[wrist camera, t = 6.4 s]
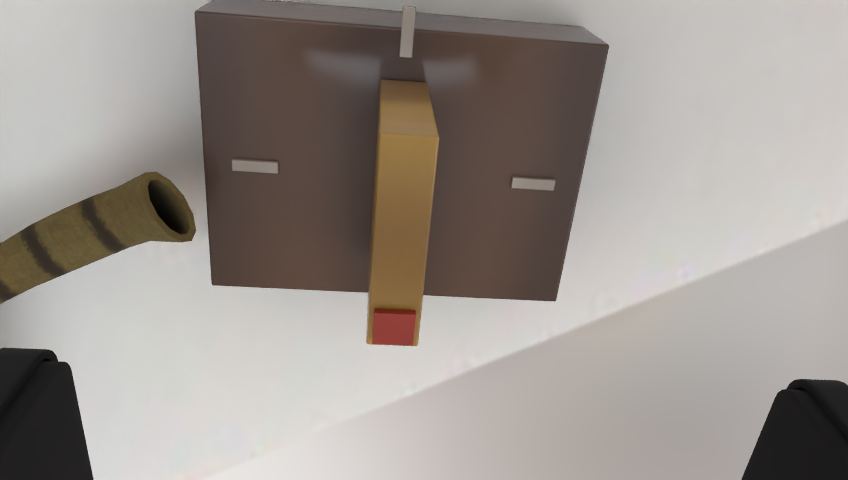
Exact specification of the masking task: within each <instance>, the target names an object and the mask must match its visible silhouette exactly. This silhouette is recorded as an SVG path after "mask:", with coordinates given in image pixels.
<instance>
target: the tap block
mask: <svg viewBox="0 0 848 480" xmlns="http://www.w3.org/2000/svg"><path fill="white" fill-rule="evenodd" d="M415 12H416V8H415V7H409V6H403V12H401V11H389V10H377V9H365V8H354V7H342V6H330V5H318V4H306V3H294V2H282V1H270V0H212V1H210V2H209V3H207V4H205V5H204V6H202V7H201V8H199V9H198V10H196V11H195V27H196V43H197V59H198V75H199V90H200V106H201V122H202V138H203V154H204V170H205V185H206V201H207V217H208V233H209V249H210V264H211V280H212V285H219V286H240V287H261V288H282V289H304V290H325V291H346V292H367V293H368V286H369V260H370V242H371V225H372V208H373V192H374V175H375V159H376V142H377V125H378V109H379V92H380V81H381V80H382V79H384V80H397V81H411V82H424V83H427V86H428V90H429V95H430V99H431V104H432V108H433V113H434V117H435V122H436V126H437V131H438V135H439V146H438V155H437V165H436V175H435V184H434V194H433V203H432V213H431V222H430V232H429V242H428V251H427V261H426V270H425V280H424V290H423V295H431V296H452V297H473V298H494V299H516V300H537V301H556V298H557V293H558V288H559V283H560V279H561V274H562V269H563V264H564V259H565V255H566V250H567V245H568V240H569V236H570V231H571V226H572V221H573V216H574V212H575V207H576V202H577V197H578V192H579V188H580V183H581V178H582V173H583V169H584V164H585V159H586V154H587V149H588V145H589V140H590V135H591V130H592V126H593V121H594V116H595V111H596V106H597V102H598V97H599V92H600V87H601V82H602V78H603V73H604V68H605V63H606V59H607V54H608V49H609V45H608V44H607V43H605V42H604V41H602V40H601V39H599V38H598V37H596V36H595V35H594V34H592V33H591V32H589V31H588V30H586V29H585V28H583V27H580V26H568V25H556V24H544V23H532V22H520V21H509V20H497V19H485V18H473V17H461V16H449V15H437V14H425V13H415Z"/></svg>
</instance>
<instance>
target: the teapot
mask: <svg viewBox="0 0 848 480" xmlns="http://www.w3.org/2000/svg"><path fill="white" fill-rule="evenodd" d="M195 231H196V228H195V222H194V217H193V213H192V211H191V209H190V207H189V205H188V203H187V201H186V199H185V197H184V196H183V195H182V193H181V192H180V191H179V190H178V189H177V188H176V186H175V185H174V184H173V183H172V182H171V181H170V180H169V179H167V178H166V177H164V176H162V175H161V174H159V173H157V172H149V173H144V174H142V175H140V176H138V177H136V178H134V179H132V180H130V181H128V182H126V183H124V184H123V185H121V186H119V187H117V188H114V189H111V190H108V191H106V192H103V193H100V194H97V195H95V196H92V197H90V198H87V199H85V200H83V201H80V202H78V203H76V204H73V205H71V206H69V207H67V208H64V209H62V210H60V211H58V212H56V213H54V214H52V215H50V216H48V217H46V218H44V219H42V220H40V221H38V222H36V223H34V224H32V225H30V226H28V227H27V228H25V229H23V230H22V231H20V232H18V233H17V234H15V235H14V236H12V237H10V238H9V239H7V240H6V241H4V242H2V243H1V244H0V304H1V303H3V302H5V301H7V300H9V299H11V298H13V297H15V296H17V295H19V294H21V293H23V292H25V291H27V290H29V289H31V288H33V287H35V286H37V285H40V284H42V283H44V282H47V281H49V280H52V279H54V278H56V277H59V276H61V275H64V274H66V273H68V272H71V271H73V270H76V269H78V268H80V267H83V266H85V265H88V264H90V263H92V262H95V261H97V260H100V259H102V258H104V257H107V256H109V255H112V254H114V253H117V252H119V251H121V250H124V249H126V248H129V247H132V246H135V245H138V244H141V243H144V242H148V241H165V242H186V241H192V239H193V236H194V234H195Z"/></svg>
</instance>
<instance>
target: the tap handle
mask: <svg viewBox="0 0 848 480" xmlns="http://www.w3.org/2000/svg"><path fill="white" fill-rule="evenodd" d="M438 146H439V135H438V131H437V126H436V122H435V117H434V113H433V108H432V104H431V99H430V95H429V90H428V86H427V83H424V82H411V81H397V80H384V79H382V80H381V81H380V92H379V109H378V125H377V142H376V159H375V175H374V192H373V208H372V225H371V242H370V260H369V286H368V313H367V340H366V342H367V344H377V345H401V346H417V345H418V338H419V328H420V318H421V309H422V299H423V290H424V280H425V270H426V261H427V251H428V242H429V232H430V222H431V213H432V203H433V194H434V184H435V175H436V165H437V155H438Z"/></svg>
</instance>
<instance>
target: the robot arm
mask: <svg viewBox="0 0 848 480" xmlns="http://www.w3.org/2000/svg"><path fill="white" fill-rule="evenodd" d="M0 480H93V475H92V470H91V465H90V460H89V455H88V450H87V445H86V440H85V436H84V431H83V426H82V421H81V416H80V411H79V406H78V401H77V396H76V391H75V386H74V381H73V376H72V371H71V368H70V366H69V364H68V363H66V362H58V359H57V356H56V355H55V353H54V352H53V351H51V350H46V349H21V348H2V349H0ZM742 480H848V385H846V384H845V383H843V382H840V381H836V380H810V379H798V380H794V381H793V382H791V383H790V384H789V386H788V387H787V389H785V390H781V391H780V392H778V394H777V396H776V397H775V399H774V402H773V404H772V407H771V409H770V412H769V414H768V417H767V419H766V421H765V424H764V426H763V429H762V431H761V433H760V436H759V438H758V441H757V443H756V446H755V448H754V450H753V453H752V455H751V458H750V460H749V463H748V465H747V467H746V470H745V472H744V475H743V477H742Z"/></svg>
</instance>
